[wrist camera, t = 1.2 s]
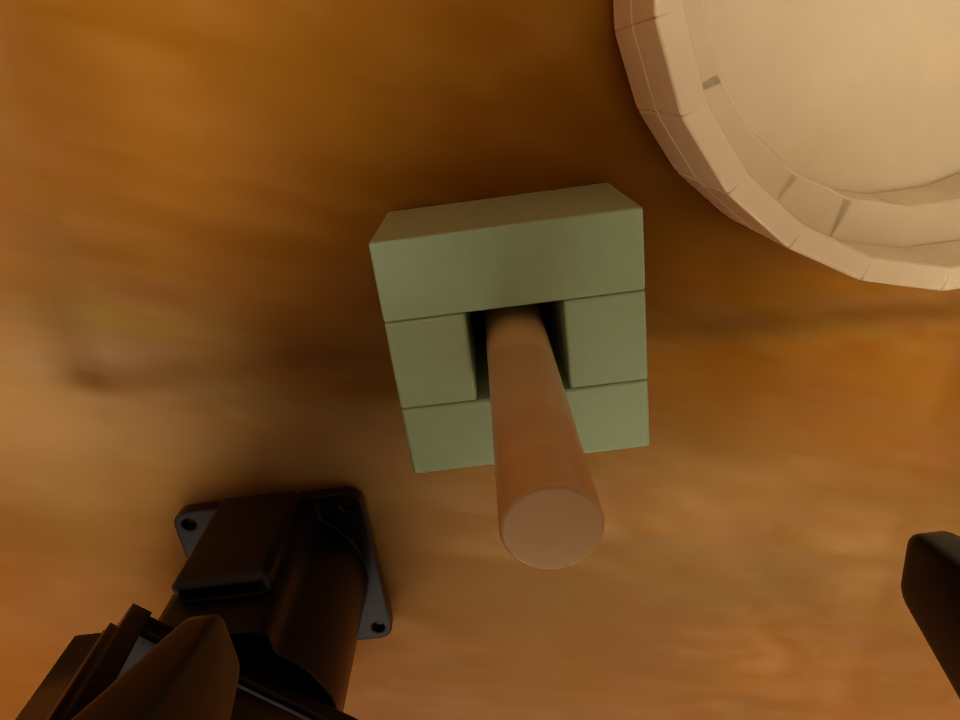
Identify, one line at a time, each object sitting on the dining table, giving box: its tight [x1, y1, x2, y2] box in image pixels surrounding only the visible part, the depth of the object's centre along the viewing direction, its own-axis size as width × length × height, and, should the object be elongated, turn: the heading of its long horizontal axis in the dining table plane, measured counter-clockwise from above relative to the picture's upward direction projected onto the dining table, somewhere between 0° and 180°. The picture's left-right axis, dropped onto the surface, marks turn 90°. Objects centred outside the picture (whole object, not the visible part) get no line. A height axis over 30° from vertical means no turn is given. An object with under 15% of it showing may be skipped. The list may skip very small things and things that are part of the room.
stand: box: [369, 183, 649, 473], centre depth 18 cm, size 6×6×4 cm
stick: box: [484, 303, 604, 570], centre depth 15 cm, size 2×2×11 cm
